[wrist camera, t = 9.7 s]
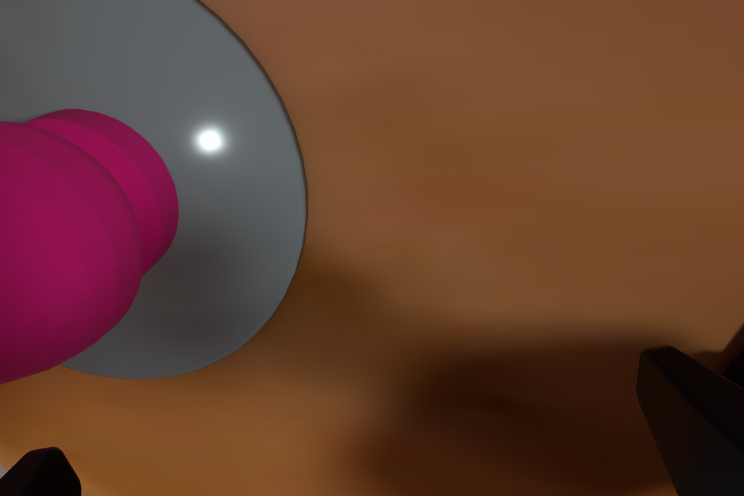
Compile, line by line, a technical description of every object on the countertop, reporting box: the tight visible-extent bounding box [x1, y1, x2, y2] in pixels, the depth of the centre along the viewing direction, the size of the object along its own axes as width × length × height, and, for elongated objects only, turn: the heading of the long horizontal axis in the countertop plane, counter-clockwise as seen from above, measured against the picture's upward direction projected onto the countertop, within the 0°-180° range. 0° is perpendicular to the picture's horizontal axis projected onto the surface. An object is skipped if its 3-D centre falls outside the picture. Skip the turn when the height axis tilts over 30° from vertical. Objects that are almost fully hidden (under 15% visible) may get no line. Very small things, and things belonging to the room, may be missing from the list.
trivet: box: [0, 0, 308, 379], centre depth 23 cm, size 16×16×1 cm
